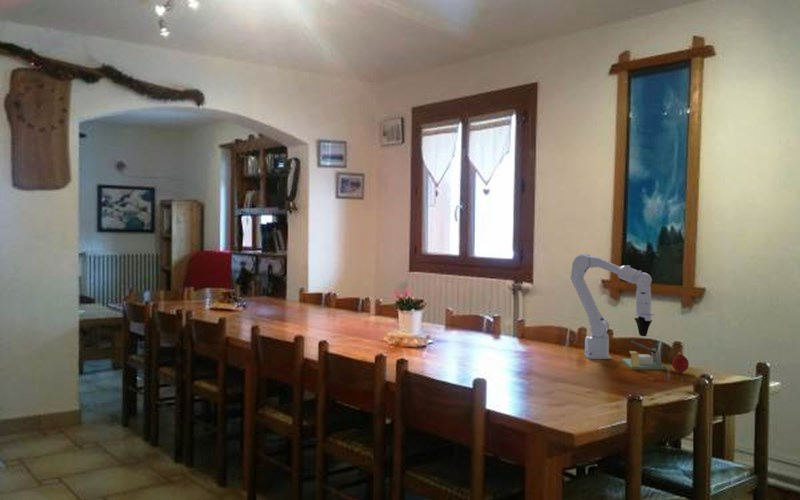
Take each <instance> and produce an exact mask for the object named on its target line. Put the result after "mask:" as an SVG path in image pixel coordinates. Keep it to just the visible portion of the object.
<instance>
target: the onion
mask: <svg viewBox="0 0 800 500" xmlns="http://www.w3.org/2000/svg"><path fill="white" fill-rule="evenodd" d="M689 364H690V363H689V360H688V359H687V357H686V356H684V354H683V353H681V352H680V351H679V352H678V354H677V355H676V356H674V358H673V359H672V362H671V365H672V368H673V369H674V371H676V372H677V374H683V373H685V372H686V371H687V370H688V369H689V366H690V365H689Z"/></svg>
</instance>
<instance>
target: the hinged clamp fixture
mask: <svg viewBox="0 0 800 500" xmlns="http://www.w3.org/2000/svg"><path fill="white" fill-rule="evenodd" d="M651 349H652V350H654V351H656V354H655V353H653V352H651V353H650V354H651V355H650V354H644V353H643V354H642V353H641V354H640V353H638V355H639V367H632V366H631V358H622V359H621V362H622V363H623V364H625V365H626V366H627V367H628V368H629V367H630V368H631V369H630V370H660V371H661V370H666V366H665V365H663V364H662V351H657V348H651Z"/></svg>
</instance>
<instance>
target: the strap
mask: <svg viewBox="0 0 800 500" xmlns="http://www.w3.org/2000/svg"><path fill="white" fill-rule="evenodd" d="M630 343H632V344H634V345H635V346H638V347H639V348H642V349H643V350H647V351H649V352H653V353H655V354H656V352H657V350H656V351H654V350H652V349H653V348H650V347H647V346H645V345H643V344H640V343H638V342H636V341H635V340H630Z"/></svg>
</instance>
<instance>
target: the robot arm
mask: <svg viewBox="0 0 800 500" xmlns="http://www.w3.org/2000/svg"><path fill="white" fill-rule="evenodd" d="M590 268H591V269H592V268H593V269H594V268H601V269H603V270H606V271H608V272H611V273H613V274H616V275H617V278H618V279H620V280H622V281H626V282H628V283H630V284H633V285H636V291H635V312H634V313H635V316H637V317H634V321H635V323H636V326H637V331H638V335H639V336H641V337H647V335H648V331H649V328H650V326H651V324H652V322H653V319H652V316H654V312H652V291H651V290H652V287H651V284H652V280H653V279H652V277H651V275H650V274H649V273H647V272H642V271H643V270H640V269H639V270H637V269H635V268H632V267H631V265H628V264H627V265H625V264H624V265H621V266H619V265H616V264H614V263H612V262H610V261H607V260H606V259H604V258H601V257H598V256H595V255H591V254H589V253H582V254H579V255H576V257H575V258H574V259H573V261H572V264H571V270H570V271H571V272H570V280H571V282H572V284H573V287H574V288H575V291H576V293H577V295H578V298H579V299H580V302H581V303H582V306H583V308H584V311H585V312H586V314H587V316H588V318H587V319H588V321H589V325H590V332H591V333H590V336H589V335H587V336H585V338H584V356H585V357H586V358H587V359H588V360H592V359H593V360H596V359H597V360H601V359H602V360H611V359H612V357H611V356H610V355H609V354H610V353H609V343H610V342H609V340H610V339H609V338H610V336H609V334H608V331H609V329H610V324H609V322H608V321H607V320H606V319H605V318H604V316H603V315H602V313H601V312H600V311H599V308H598V306H597V304H596V302H595V300H594V298H593V296H592V293H591V292H590V289H589V287H588V284H587V282H586V280H585V278H584V277H585V275H586V273H587V271H588V270H589V269H590Z"/></svg>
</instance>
